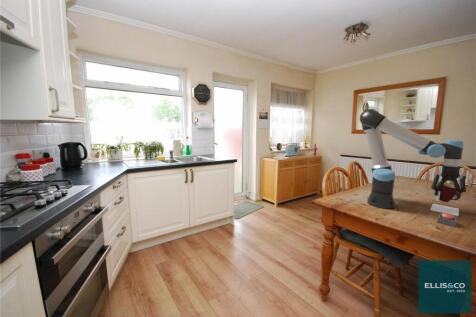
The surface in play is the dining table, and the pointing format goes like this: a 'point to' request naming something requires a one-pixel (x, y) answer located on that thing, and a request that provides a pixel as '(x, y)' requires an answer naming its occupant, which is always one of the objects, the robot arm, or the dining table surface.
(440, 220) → the button housing
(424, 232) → the dining table surface
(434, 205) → the paper
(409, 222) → the dining table surface
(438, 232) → the dining table surface
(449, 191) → the mug
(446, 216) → the button
